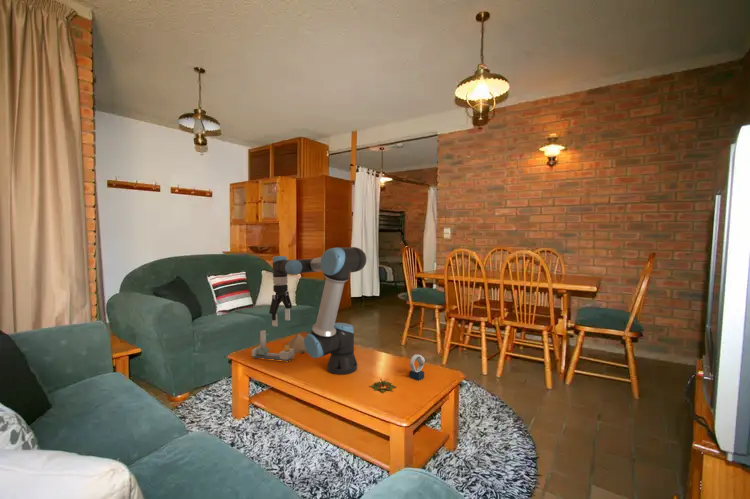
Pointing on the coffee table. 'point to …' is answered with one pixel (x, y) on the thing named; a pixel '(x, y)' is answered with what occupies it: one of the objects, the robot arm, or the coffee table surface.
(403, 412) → the coffee table surface
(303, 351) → the model pyramid
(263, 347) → the carriage
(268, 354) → the rail bench
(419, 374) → the watch
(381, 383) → the green leafy ornament
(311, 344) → the robot arm
